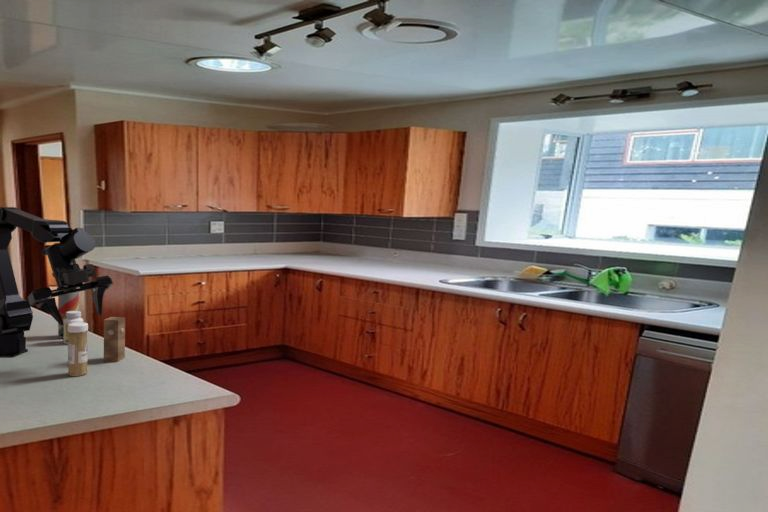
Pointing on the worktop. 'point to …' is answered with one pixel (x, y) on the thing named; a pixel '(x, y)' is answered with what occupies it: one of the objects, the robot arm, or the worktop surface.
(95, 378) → the worktop surface
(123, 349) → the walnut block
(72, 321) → the supplement bottle
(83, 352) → the sprinkles bottle
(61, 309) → the lotion bottle
